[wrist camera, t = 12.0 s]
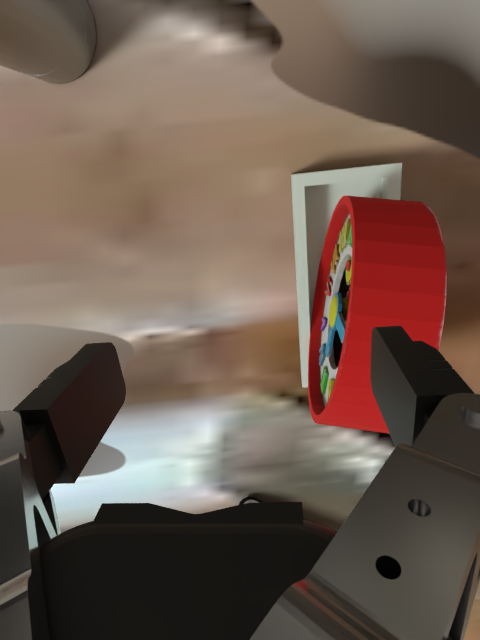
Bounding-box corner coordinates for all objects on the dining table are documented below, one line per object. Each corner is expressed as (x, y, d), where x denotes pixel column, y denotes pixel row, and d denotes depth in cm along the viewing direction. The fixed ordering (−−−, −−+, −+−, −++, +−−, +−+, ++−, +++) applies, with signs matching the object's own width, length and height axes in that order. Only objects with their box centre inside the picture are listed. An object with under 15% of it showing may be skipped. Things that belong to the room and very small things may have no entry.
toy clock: (331, 188, 39) (374, 208, 21) (388, 193, 39) (482, 218, 21) (303, 356, 47) (317, 478, 29) (351, 361, 47) (395, 489, 28)
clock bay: (301, 372, 49) (302, 387, 46) (290, 174, 40) (291, 174, 37) (383, 369, 48) (391, 384, 45) (392, 163, 39) (402, 162, 36)
